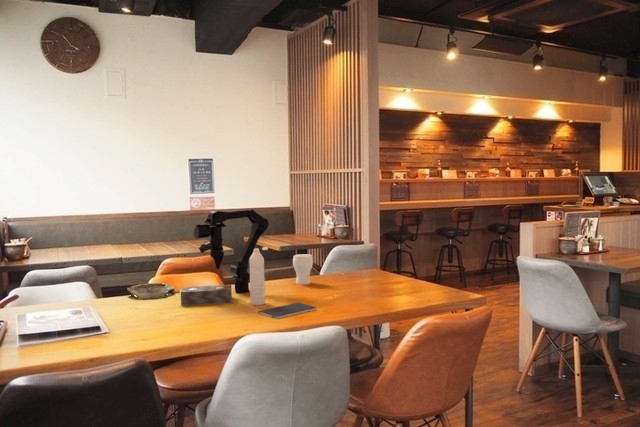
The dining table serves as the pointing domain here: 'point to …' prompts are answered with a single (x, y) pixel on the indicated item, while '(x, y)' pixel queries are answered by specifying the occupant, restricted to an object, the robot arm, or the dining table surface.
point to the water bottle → (257, 278)
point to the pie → (151, 290)
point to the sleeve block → (206, 295)
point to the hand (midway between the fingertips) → (217, 269)
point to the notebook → (287, 310)
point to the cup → (302, 268)
